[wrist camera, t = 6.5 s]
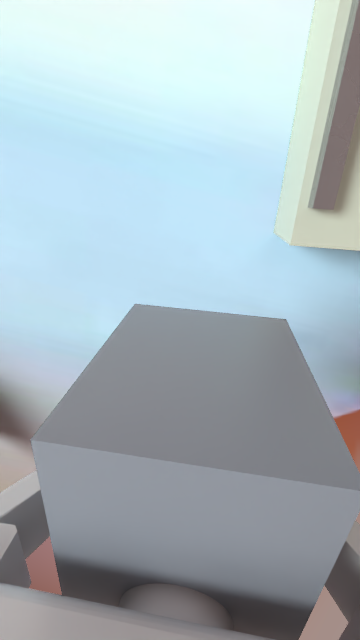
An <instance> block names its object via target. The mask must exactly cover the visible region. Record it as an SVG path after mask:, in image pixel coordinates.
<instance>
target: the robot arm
mask: <svg viewBox="0 0 360 640" xmlns="http://www.w3.org/2000/svg"><path fill="white" fill-rule="evenodd" d="M49 536H50V533H49V528H48V523H47V518H46V513H45V508H44V504H43V499H42V494H41V489H40V484H39V479H38V474H37V470H35V471H34V472H32V473H31V474H29V475H27V476H26V477H24V478H23V479H21V480H19V481H18V482H16V483H15V484H13V485H11V486H10V487H8V488H7V489H5V490H4V491H2V492H0V640H275V639H270V638H266V637H261V636H256V635H251V634H246V633H241V632H237V631H232V630H227V629H222V628H217V627H213V626H208V625H203V624H198V623H193V622H188V621H184V620H179V619H174V618H169V617H164V616H160V615H155V614H150V613H145V612H140V611H135V610H131V609H126V608H121V607H116V606H111V605H107V604H102V603H97V602H92V601H87V600H82V599H78V598H73V597H68V596H63V595H58V594H53V593H48V592H43V591H38V590H34V589H29V586H30V584H31V579H30V575H29V571H28V568H27V564H26V561H25V559H26V558H27V557H28V556H29V555H30V554H31V553H32V552H33V551H34V550H36V549H37V548H38V547H39V546H40V545H41V544H42V543H43V542H44V541H45V540H46V539H47V538H48V537H49ZM325 587H326V588H327V590H328V591H329V593H330V594H331V596H332V597H333V599H334V600H335V602H336V604H337V605H338V607H339V608H340V610H341V611H342V613H343V614H344V616H345V617H346V619H347V621H348V622H349V623H348V625H347V627H346V628H345V630H344V632H343V633H342V635H341V637H340V638H339V640H360V524H359V523H358V522H357V521H355V522H354V524H353V526H352V528H351V530H350V532H349V534H348V537H347V539H346V541H345V543H344V545H343V547H342V549H341V551H340V553H339V555H338V558H337V560H336V562H335V564H334V566H333V568H332V570H331V572H330V574H329V576H328V579H327V581H326V583H325Z"/></svg>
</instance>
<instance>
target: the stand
mask: <svg viewBox="0 0 360 640" xmlns="http://www.w3.org/2000/svg"><path fill="white" fill-rule="evenodd" d="M273 233H275V234H276V235H277V236H279V237H280V238H281V239H282V240H284V241H285V242H286V243H288V244H289V245H294V246H306V247H319V248H331V249H344V250H356V251H360V0H315V4H314V9H313V15H312V20H311V26H310V31H309V37H308V43H307V48H306V54H305V59H304V65H303V71H302V76H301V82H300V87H299V93H298V98H297V104H296V110H295V115H294V121H293V126H292V132H291V138H290V143H289V149H288V154H287V160H286V165H285V171H284V177H283V182H282V188H281V193H280V199H279V205H278V210H277V216H276V221H275V227H274V232H273Z"/></svg>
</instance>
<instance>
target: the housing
mask: <svg viewBox="0 0 360 640" xmlns="http://www.w3.org/2000/svg"><path fill="white" fill-rule="evenodd" d="M31 445H32V450H33V455H34V460H35V465H36V469H37V474H38V479H39V484H40V489H41V494H42V499H43V504H44V508H45V513H46V518H47V523H48V528H49V533H50V538H51V543H52V547H53V552H54V557H55V562H56V567H57V572H58V577H59V582H60V587H61V591H62V595H63V596H68V597H73V598H78V599H82V600H87V601H92V602H97V603H102V604H107V605H111V606H116V607H121V608H126V609H131V610H135V611H140V612H145V613H150V614H155V615H160V616H164V617H169V618H174V619H179V620H184V621H188V622H193V623H198V624H203V625H208V626H213V627H217V628H222V629H227V630H232V631H237V632H241V633H246V634H251V635H256V636H261V637H266V638H270V639H275V640H298V639H299V637H300V635H301V633H302V631H303V629H304V627H305V624H306V622H307V621H308V618H309V616H310V614H311V612H312V610H313V608H314V606H315V604H316V602H317V599H318V597H319V595H320V593H321V591H322V589H323V587H324V585H325V583H326V581H327V579H328V576H329V574H330V572H331V570H332V568H333V566H334V564H335V562H336V560H337V558H338V555H339V553H340V551H341V549H342V547H343V545H344V543H345V541H346V539H347V537H348V534H349V532H350V530H351V528H352V526H353V524H354V522H355V520H356V517H357V515H358V513H359V511H360V473H359V471H358V469H357V467H356V465H355V463H354V461H353V459H352V457H351V454H350V452H349V450H348V448H347V446H346V444H345V442H344V440H343V438H342V436H341V434H340V431H339V429H338V427H337V425H336V423H335V421H334V419H333V417H332V415H331V413H330V410H329V408H328V406H327V404H326V402H325V400H324V398H323V396H322V394H321V392H320V390H319V387H318V385H317V383H316V381H315V379H314V377H313V375H312V373H311V371H310V369H309V367H308V364H307V362H306V360H305V358H304V356H303V354H302V352H301V350H300V348H299V346H298V344H297V341H296V339H295V337H294V335H293V333H292V331H291V329H290V327H289V325H288V323H287V321H286V319H277V318H268V317H258V316H248V315H239V314H229V313H219V312H209V311H200V310H190V309H180V308H171V307H161V306H151V305H141V304H134V306H133V307H132V308H131V310H130V311H129V312H128V314H127V315H126V316H125V317H124V319H123V320H122V321H121V323H120V324H119V325H118V327H117V328H116V329H115V330H114V332H113V333H112V334H111V336H110V337H109V338H108V340H107V341H106V342H105V343H104V345H103V346H102V347H101V349H100V350H99V351H98V353H97V354H96V355H95V356H94V358H93V359H92V360H91V362H90V363H89V364H88V366H87V367H86V368H85V369H84V371H83V372H82V373H81V375H80V376H79V377H78V379H77V380H76V381H75V382H74V384H73V385H72V386H71V388H70V389H69V390H68V392H67V393H66V394H65V395H64V397H63V398H62V399H61V401H60V402H59V403H58V405H57V406H56V407H55V408H54V410H53V411H52V412H51V414H50V415H49V416H48V418H47V419H46V420H45V421H44V423H43V424H42V425H41V427H40V428H39V429H38V431H37V432H36V433H35V434H34V436H33V437H32V438H31Z"/></svg>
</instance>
